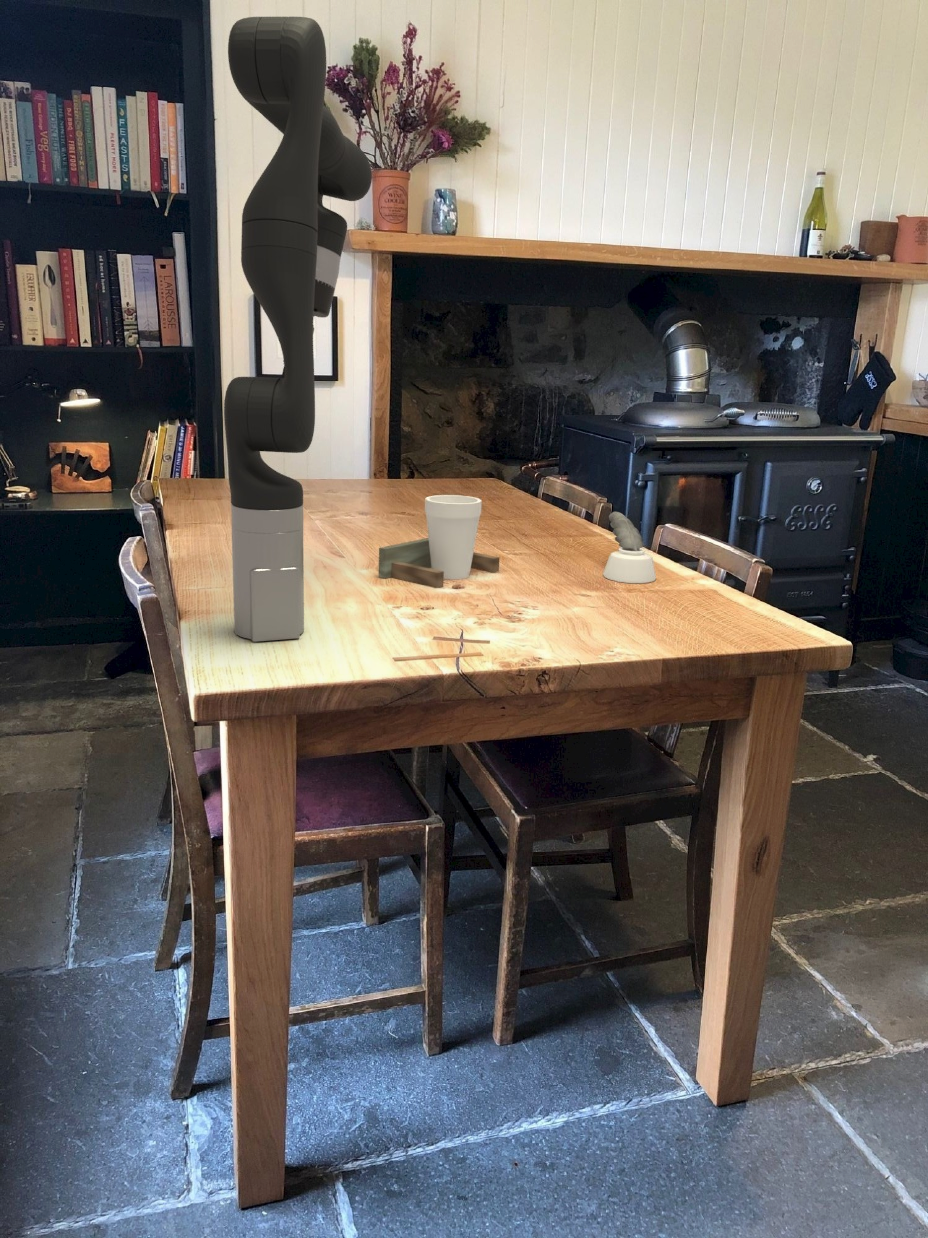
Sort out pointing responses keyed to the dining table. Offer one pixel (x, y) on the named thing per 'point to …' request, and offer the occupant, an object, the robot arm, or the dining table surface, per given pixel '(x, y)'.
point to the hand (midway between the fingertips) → (286, 390)
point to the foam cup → (452, 533)
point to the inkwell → (628, 554)
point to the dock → (422, 563)
